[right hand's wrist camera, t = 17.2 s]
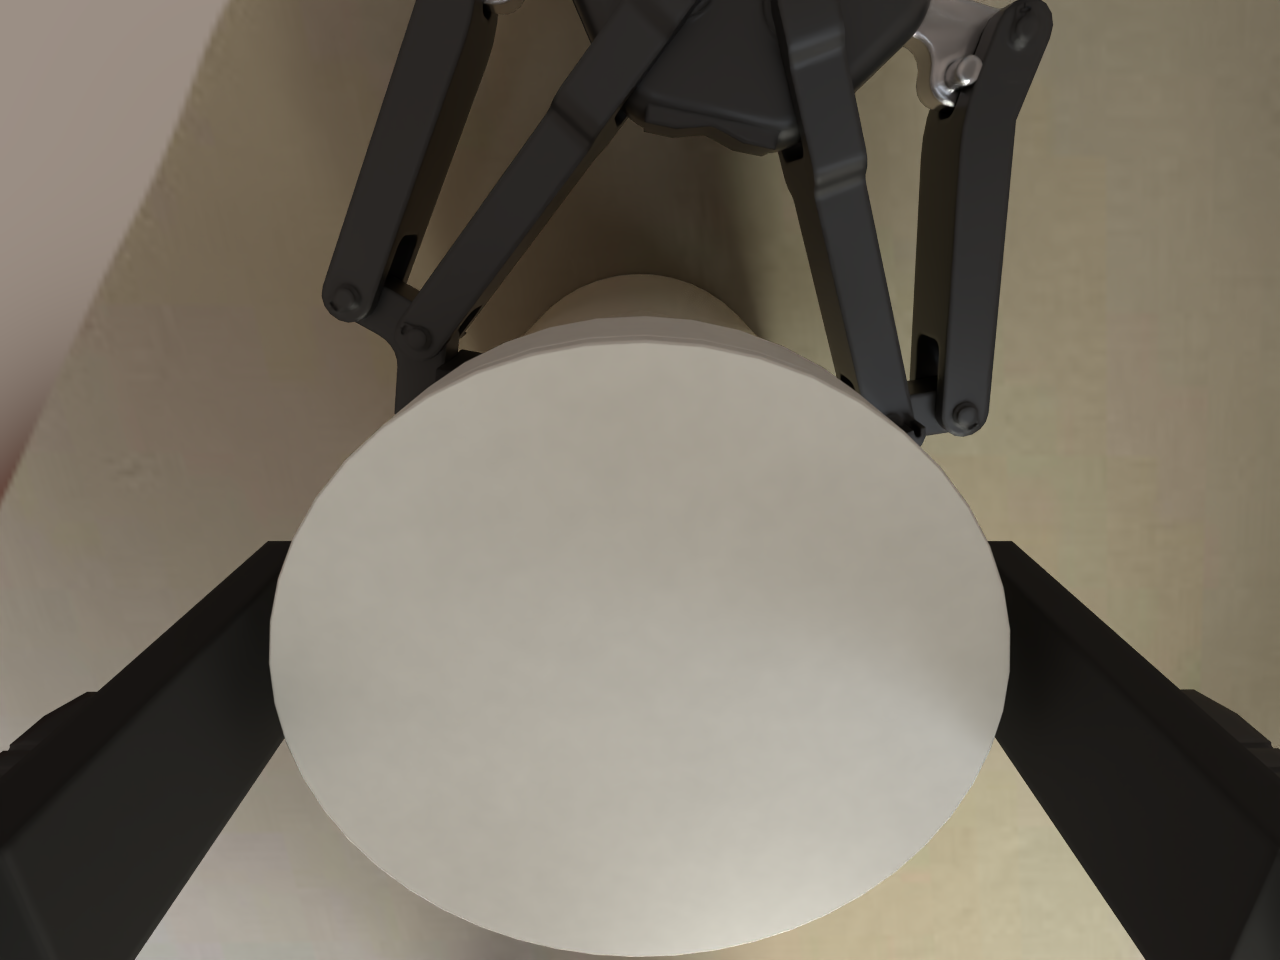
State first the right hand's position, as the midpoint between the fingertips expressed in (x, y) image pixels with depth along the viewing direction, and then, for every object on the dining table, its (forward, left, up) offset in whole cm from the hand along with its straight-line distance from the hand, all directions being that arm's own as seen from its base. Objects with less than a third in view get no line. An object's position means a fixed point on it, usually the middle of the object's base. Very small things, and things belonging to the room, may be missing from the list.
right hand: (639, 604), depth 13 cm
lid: (0, 0, +3) cm, 3 cm away
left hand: (-2, +4, -7) cm, 9 cm away
